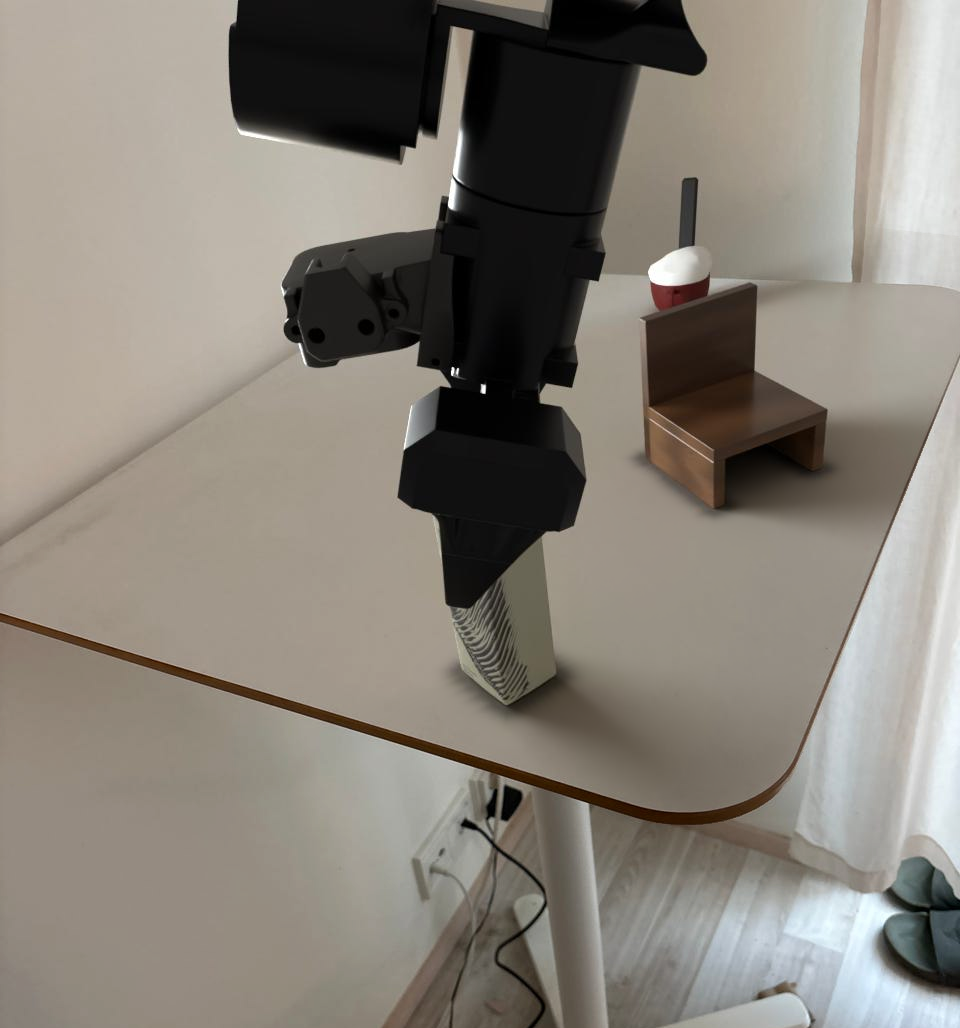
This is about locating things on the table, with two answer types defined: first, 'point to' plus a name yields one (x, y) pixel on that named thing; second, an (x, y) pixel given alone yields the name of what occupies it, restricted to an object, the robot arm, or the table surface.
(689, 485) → the wooden doll chair
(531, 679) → the box
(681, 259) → the cocoa
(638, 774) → the table surface
